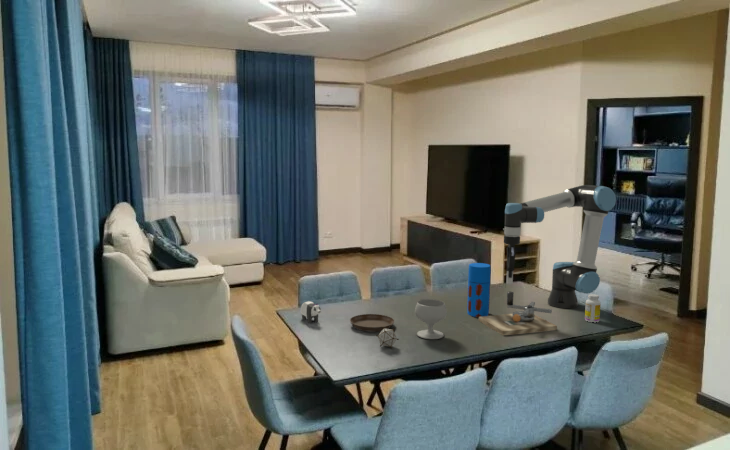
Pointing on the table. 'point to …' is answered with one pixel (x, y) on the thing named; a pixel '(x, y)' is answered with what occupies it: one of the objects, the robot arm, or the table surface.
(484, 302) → the thermos
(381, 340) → the game die
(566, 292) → the robot arm
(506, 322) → the stand base
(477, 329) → the table surface
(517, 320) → the ball
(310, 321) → the giant panda
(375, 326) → the plant saucer
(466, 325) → the table surface
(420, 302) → the chalice
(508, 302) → the grey cross
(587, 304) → the supplement bottle
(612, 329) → the table surface
